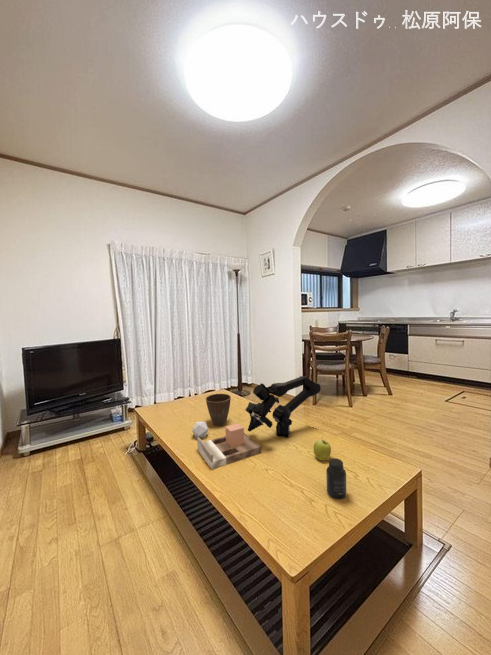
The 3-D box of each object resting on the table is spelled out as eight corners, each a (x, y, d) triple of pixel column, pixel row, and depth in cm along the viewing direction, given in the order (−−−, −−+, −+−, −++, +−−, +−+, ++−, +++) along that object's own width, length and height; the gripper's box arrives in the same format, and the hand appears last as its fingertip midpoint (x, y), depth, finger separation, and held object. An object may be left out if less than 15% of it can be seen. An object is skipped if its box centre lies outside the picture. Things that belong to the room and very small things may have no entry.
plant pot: (230, 428, 151) (229, 401, 150) (204, 429, 152) (203, 402, 151) (232, 418, 166) (231, 393, 165) (209, 418, 167) (208, 394, 166)
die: (201, 443, 137) (210, 426, 140) (187, 434, 138) (197, 417, 141) (203, 441, 145) (212, 425, 147) (190, 433, 146) (199, 417, 149)
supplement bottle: (323, 488, 98) (323, 457, 98) (341, 486, 99) (340, 455, 98) (331, 501, 92) (330, 468, 91) (350, 499, 92) (349, 466, 91)
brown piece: (242, 436, 141) (242, 425, 141) (261, 452, 124) (260, 440, 124) (197, 449, 129) (197, 437, 129) (211, 469, 113) (210, 455, 112)
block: (238, 438, 133) (238, 423, 132) (244, 443, 127) (243, 427, 127) (226, 442, 129) (225, 426, 129) (231, 447, 124) (230, 431, 124)
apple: (308, 456, 118) (312, 434, 119) (318, 455, 123) (321, 434, 124) (323, 464, 112) (326, 440, 113) (332, 462, 117) (336, 440, 118)
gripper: (247, 391, 141) (229, 416, 137) (266, 401, 125) (247, 429, 120) (260, 403, 146) (243, 427, 141) (280, 414, 129) (262, 441, 125)
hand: (248, 431), depth 132 cm, fingers closed
